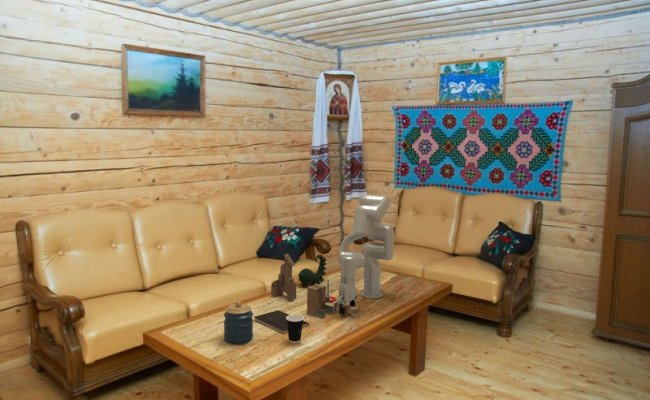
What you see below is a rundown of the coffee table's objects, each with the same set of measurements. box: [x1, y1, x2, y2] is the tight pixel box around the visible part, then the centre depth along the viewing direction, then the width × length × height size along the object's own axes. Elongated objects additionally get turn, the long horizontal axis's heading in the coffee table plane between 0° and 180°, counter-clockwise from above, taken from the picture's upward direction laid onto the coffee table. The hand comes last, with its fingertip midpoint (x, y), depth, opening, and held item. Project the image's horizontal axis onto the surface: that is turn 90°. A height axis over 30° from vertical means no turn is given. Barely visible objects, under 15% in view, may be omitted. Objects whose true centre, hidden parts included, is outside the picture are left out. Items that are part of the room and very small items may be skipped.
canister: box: [223, 300, 254, 346], centre depth 223 cm, size 13×13×18 cm
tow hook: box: [326, 278, 337, 303], centre depth 280 cm, size 8×13×9 cm
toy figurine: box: [297, 254, 327, 288], centre depth 307 cm, size 9×19×25 cm
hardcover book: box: [253, 309, 310, 334], centre depth 244 cm, size 16×23×2 cm
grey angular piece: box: [306, 283, 334, 319], centre depth 257 cm, size 8×11×14 cm
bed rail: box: [333, 301, 360, 319], centre depth 258 cm, size 13×4×5 cm, turn 55°
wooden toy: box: [270, 253, 297, 302], centre depth 281 cm, size 16×7×25 cm, turn 52°
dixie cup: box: [286, 314, 305, 344], centre depth 222 cm, size 8×8×11 cm
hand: (347, 311), depth 258 cm, fingers open, 9 cm apart
